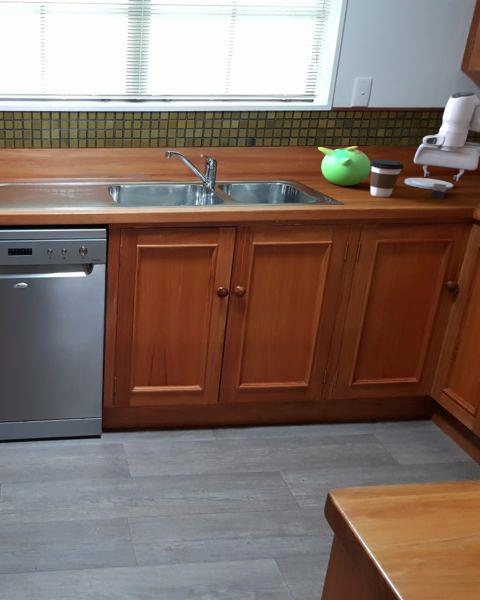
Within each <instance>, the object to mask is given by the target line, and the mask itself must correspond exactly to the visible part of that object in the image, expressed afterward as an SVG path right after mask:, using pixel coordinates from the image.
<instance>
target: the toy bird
mask: <svg viewBox="0 0 480 600" xmlns="http://www.w3.org/2000/svg"><path fill="white" fill-rule="evenodd" d="M358 147H359V146H358V145H354V146H348V147H340V148H337V149H331V148H327V147H322V146H319V147H317V149H318V150H319V151H320V152H321V153H322V154H324V155H325V156H324V158H323V159H322V161H321V166H320V168H321V173H322V176H323V177H324V178H325V179H326V180H327V181H328V182H330V183H332V184H335V185H337V186H343V187H347V186H348V187H349V186H354V185H357V184H360V183H362V182H364V181H365V180H366V179H367V177H369V175H370V174H371V170H372V166H371V165H370V163H371V161H370V159H369V157H368V156H367V155H366V154H365V153H364V152H362V151H361V150H359V149H357V148H358Z"/></svg>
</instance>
